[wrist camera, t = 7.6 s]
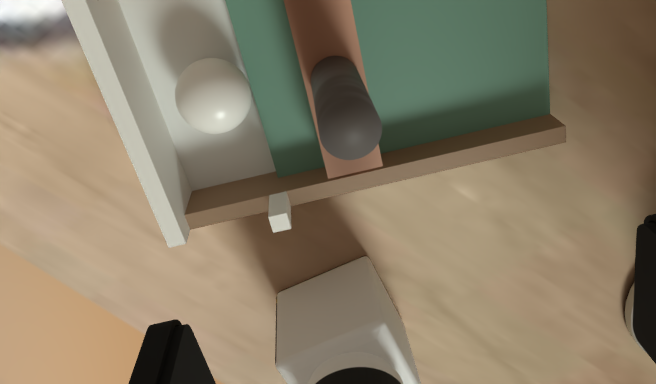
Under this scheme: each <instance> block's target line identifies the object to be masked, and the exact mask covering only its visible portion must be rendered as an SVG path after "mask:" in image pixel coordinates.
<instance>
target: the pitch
mask: <svg viewBox="0 0 656 384" xmlns="http://www.w3.org/2000/svg"><path fill="white" fill-rule="evenodd" d="M62 3H63V5H64V7H65V10H66V12H67V14H68V17H69V19H70V21H71V23H72V26H73V28H74V30H75V33H76V35H77V37H78V40H79V42H80V44H81V47H82V49H83V51H84V53H85V56H86V58H87V60H88V63H89V65H90V67H91V70H92V72H93V74H94V76H95V79H96V81H97V83H98V86H99V88H100V90H101V93H102V95H103V97H104V100H105V102H106V104H107V106H108V109H109V111H110V113H111V116H112V118H113V120H114V123H115V125H116V127H117V129H118V132H119V134H120V136H121V139H122V141H123V143H124V146H125V148H126V150H127V153H128V155H129V157H130V159H131V162H132V164H133V166H134V169H135V171H136V173H137V176H138V178H139V180H140V183H141V185H142V187H143V189H144V192H145V194H146V196H147V199H148V201H149V203H150V206H151V208H152V210H153V212H154V215H155V217H156V219H157V222H158V224H159V226H160V229H161V231H162V233H163V236H164V238H165V240H166V242H167V245H168V247H169V248H170V247H174V246H178V245H182V244H186V242H187V239H188V235H189V232H190V230H191V229H195V228H199V227H204V226H208V225H212V224H216V223H221V222H225V221H229V220H234V219H238V218H242V217H247V216H251V215H255V214H259V213H264V212H268V218H269V221H270V224H271V228H272V231H273V233H275V232H279V231H284V230H288V229H291V206H294V205H298V204H302V203H307V202H311V201H315V200H320V199H324V198H328V197H333V196H337V195H341V194H345V193H350V192H354V191H358V190H363V189H367V188H371V187H376V186H380V185H384V184H388V183H393V182H397V181H401V180H406V179H410V178H414V177H419V176H423V175H427V174H431V173H436V172H440V171H444V170H449V169H453V168H457V167H462V166H466V165H470V164H474V163H479V162H483V161H487V160H492V159H496V158H500V157H504V156H509V155H513V154H517V153H522V152H526V151H530V150H535V149H539V148H543V147H547V146H552V145H556V144H560V143H565V142H566V126H565V125H564V124H562V123H561V122H560V121H558V120H557V119H556V118H555V117H553V116H552V115H551V114H550V97H549V66H548V35H547V4H546V0H351V5H352V10H353V15H354V20H355V25H356V31H357V36H358V41H359V46H360V51H361V56H362V61H363V67H364V72H365V77H366V82H367V87H368V92H369V96H370V98H371V100H372V102H373V104H374V107H375V109H376V111H377V113H378V115H379V117H380V120H381V123H382V134H381V138H380V141H379V143H378V144H379V149H380V154H381V159H382V164H383V166H381V167H377V168H373V169H368V170H364V171H360V172H356V173H351V174H347V175H343V176H338V177H334V178H330V179H328V176H327V172H326V168H325V164H324V160H323V156H322V152H321V148H320V144H319V140H318V136H317V132H316V128H315V124H314V120H313V116H312V112H311V108H310V104H309V100H308V96H307V92H306V88H305V84H304V80H303V76H302V72H301V68H300V64H299V60H298V56H297V52H296V48H295V44H294V40H293V36H292V32H291V28H290V24H289V20H288V16H287V12H286V8H285V4H284V0H62ZM205 58H219V59H223V60H226V61H228V62H230V63H232V64H234V65H235V66H236V67H238V68H239V69H240V70H241V71H242V72H243V74H244V75H245V77H246V78H247V80H248V82H249V85H250V89H251V98H252V99H251V106H250V109H249V112H248V114H247V116H246V118H245V119H244V120H243V121H242V122H241V123H240V124H239V125H238V126H237V127H236V128H234V129H232V130H230V131H228V132H225V133H220V134H209V133H204V132H201V131H198V130H196V129H195V128H193V127H192V126H190V125H189V124H188V123H187V122H186V121H185V120H184V119H183V118H182V116H181V115H180V113H179V111H178V109H177V106H176V102H175V87H176V83H177V81H178V78H179V77H180V75H181V73H182V72H183V71H184V70H185V69H186V68H187V67H188V66H189V65H190V64H192V63H194V62H196V61H198V60H201V59H205Z"/></svg>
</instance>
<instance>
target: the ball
mask: <svg viewBox="0 0 656 384" xmlns="http://www.w3.org/2000/svg"><path fill="white" fill-rule="evenodd" d="M251 99H252V98H251V89H250V85H249V82H248V80H247V78H246V77H245V75H244V74H243V72H242V71H241V70H240V69H239V68H238V67H236V66H235V65H234V64H232V63H230V62H228V61H226V60H223V59H219V58H205V59H201V60H198V61H196V62H194V63H192V64H190V65H189V66H188V67H187V68H186V69H185V70H184V71H183V72H182V73H181V75H180V77H179V78H178V81H177V83H176V87H175V102H176V106H177V109H178V111H179V113H180V115H181V116H182V118H183V119H184V120H185V121H186V122H187V123H188V124H189V125H190V126H192V127H193V128H195V129H196V130H198V131H201V132H204V133H209V134H220V133H225V132H228V131H230V130H232V129H234V128H236V127H237V126H238V125H239V124H240V123H241V122H242V121H243V120H244V119H245V118H246V116H247V114H248V112H249V109H250V106H251Z"/></svg>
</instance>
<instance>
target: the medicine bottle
mask: <svg viewBox="0 0 656 384" xmlns="http://www.w3.org/2000/svg"><path fill="white" fill-rule="evenodd" d="M275 365H276V368H277V370H278V371H279V372H280V374H281V375H282V377H283V378H284V379H285V381H286V382H287V384H421V382H420V378H419V375H418V371H417V368H416V365H415V361H414V358H413V354H412V351H411V347H410V344H409V341H408V337H407V334H406V330H405V327H404V323H403V322H402V320H401V318H400V316H399V314H398V312H397V310H396V308H395V306H394V304H393V302H392V301H391V299H390V297H389V295H388V293H387V291H386V289H385V287H384V285H383V283H382V281H381V279H380V278H379V276H378V274H377V272H376V270H375V268H374V266H373V264H372V262H371V260H370V259H369V258H368V257H366V256H364V257H361V258H358V259H356V260H354V261H351V262H349V263H347V264H344V265H342V266H340V267H337V268H335V269H333V270H330V271H328V272H326V273H323V274H321V275H318V276H316V277H314V278H311V279H309V280H307V281H304V282H302V283H300V284H297V285H295V286H293V287H290V288H288V289H286V290H283V291H281V292H279V293H278V294H277V297H276V352H275Z"/></svg>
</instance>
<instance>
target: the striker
mask: <svg viewBox="0 0 656 384" xmlns="http://www.w3.org/2000/svg"><path fill="white" fill-rule="evenodd" d="M284 4H285V8H286V12H287V16H288V20H289V24H290V28H291V32H292V36H293V40H294V44H295V48H296V52H297V56H298V60H299V64H300V68H301V72H302V76H303V80H304V84H305V88H306V92H307V96H308V100H309V104H310V108H311V112H312V116H313V120H314V124H315V128H316V132H317V136H318V140H319V144H320V148H321V152H322V156H323V160H324V164H325V168H326V172H327V176H328V179H330V178H334V177H338V176H343V175H347V174H351V173H356V172H360V171H364V170H368V169H373V168H377V167H381V166H383V164H382V159H381V154H380V149H379V144H378V143H379V141H380V138H381V134H382V123H381V120H380V117H379V115H378V113H377V111H376V109H375V107H374V104H373V102H372V100H371V98H370V96H369V92H368V87H367V82H366V77H365V72H364V67H363V61H362V56H361V51H360V46H359V41H358V36H357V31H356V25H355V20H354V15H353V10H352V5H351V0H284Z"/></svg>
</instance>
